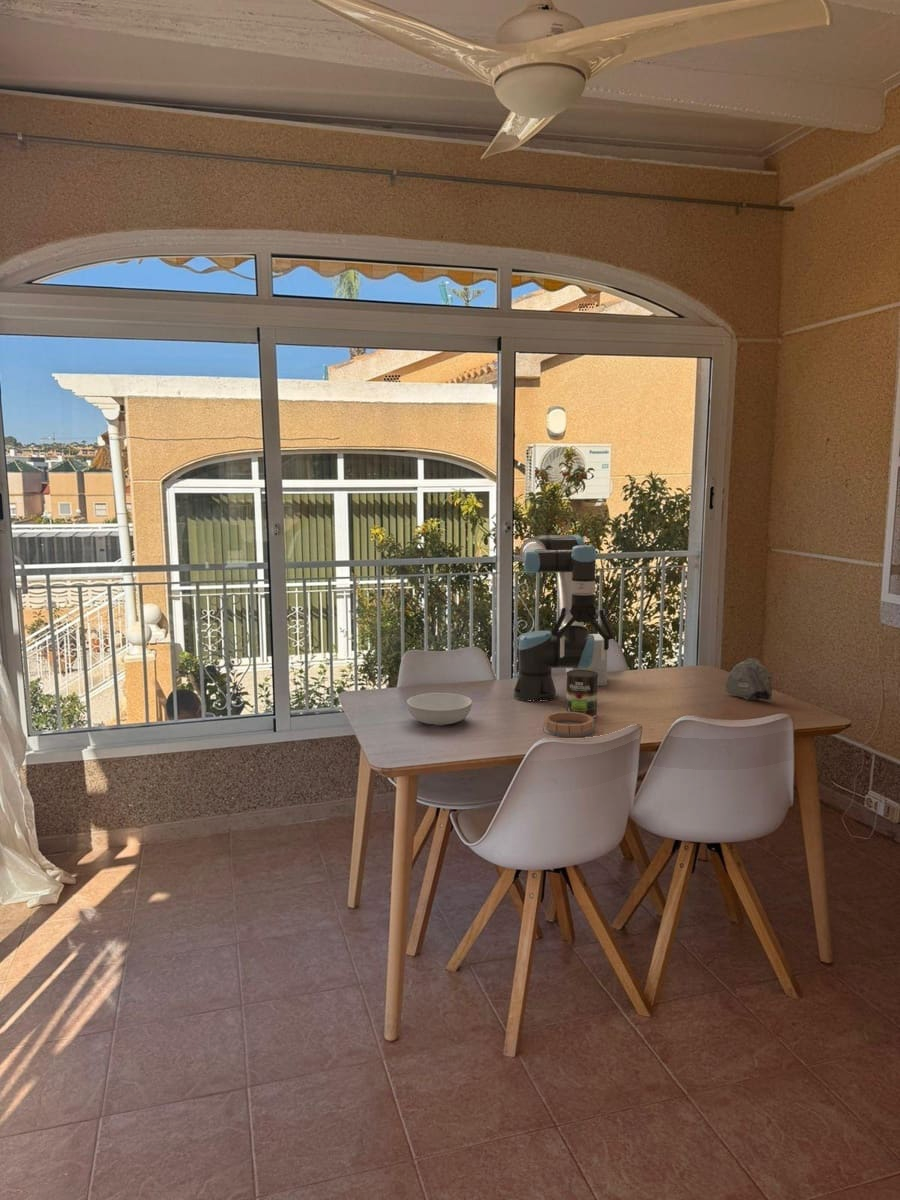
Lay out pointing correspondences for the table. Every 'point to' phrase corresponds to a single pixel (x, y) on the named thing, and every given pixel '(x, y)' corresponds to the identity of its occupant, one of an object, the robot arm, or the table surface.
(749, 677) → the decorative rock
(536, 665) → the robot arm
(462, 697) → the serving bowl
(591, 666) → the supplement box
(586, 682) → the coffee can
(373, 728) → the table surface
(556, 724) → the collar
